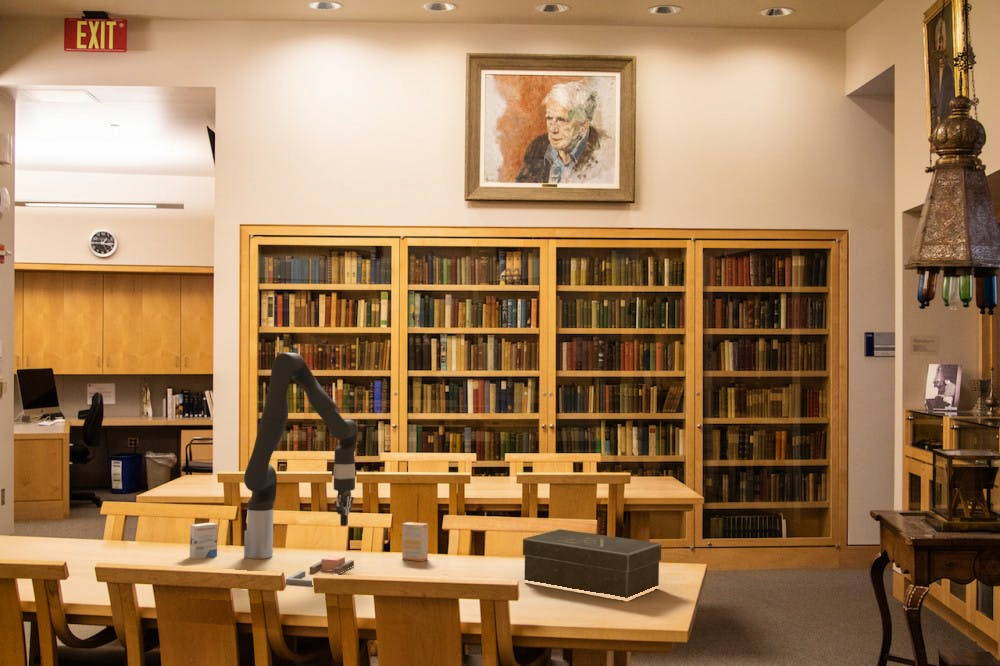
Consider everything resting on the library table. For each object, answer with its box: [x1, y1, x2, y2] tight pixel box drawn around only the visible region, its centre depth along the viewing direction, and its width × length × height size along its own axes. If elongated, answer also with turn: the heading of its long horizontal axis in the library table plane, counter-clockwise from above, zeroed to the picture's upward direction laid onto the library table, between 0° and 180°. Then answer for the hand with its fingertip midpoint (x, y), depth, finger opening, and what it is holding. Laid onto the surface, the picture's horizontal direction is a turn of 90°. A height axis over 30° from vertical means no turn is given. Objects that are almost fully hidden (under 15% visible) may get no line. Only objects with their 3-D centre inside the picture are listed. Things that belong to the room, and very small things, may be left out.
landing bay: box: [285, 570, 338, 587], centre depth 332 cm, size 13×12×2 cm
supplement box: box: [401, 521, 429, 562], centre depth 367 cm, size 8×5×13 cm, turn 65°
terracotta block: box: [320, 555, 346, 572], centre depth 349 cm, size 6×6×4 cm
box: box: [522, 528, 662, 598], centre depth 330 cm, size 22×39×15 cm, turn 54°
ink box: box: [189, 522, 219, 560], centre depth 366 cm, size 9×5×12 cm, turn 129°
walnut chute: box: [309, 559, 355, 575], centre depth 348 cm, size 10×14×2 cm
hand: (344, 525), depth 358 cm, fingers closed
